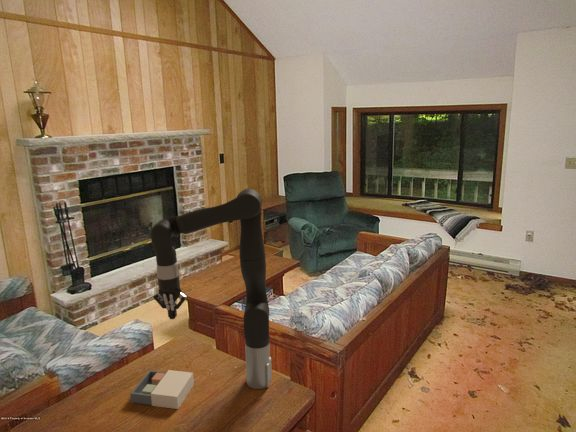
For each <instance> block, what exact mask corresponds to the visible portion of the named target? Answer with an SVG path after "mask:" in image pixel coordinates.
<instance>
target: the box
mask: <svg viewBox="0 0 576 432" xmlns="http://www.w3.org/2000/svg"><path fill="white" fill-rule="evenodd" d="M167 372H168V371H161V370H152V369H149V371H147V373H146V374H145V375H144V376H143V378H142V379H140V381H139V382H138V383H137V385H136V386H135V387H134V388H133V389H132V391H131V392H130V402H131V404H136V405H137V404H138V405H144V406H152V401H151V394H143V393H142V390H143V389H144V388H145V387H146V385H147V384H151V385H152V378H153V377H154V375H155V374H156V373H165V374H166V373H167Z"/></svg>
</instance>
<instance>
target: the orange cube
mask: <svg viewBox="0 0 576 432" xmlns="http://www.w3.org/2000/svg"><path fill="white" fill-rule="evenodd" d="M164 375H165V373H156V374H155V375H154V377H153V378H152V385H156V386H157V385H158V383H159V382H160V381H161V379H162V378H163V377H164Z"/></svg>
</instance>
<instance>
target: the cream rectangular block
mask: <svg viewBox="0 0 576 432" xmlns="http://www.w3.org/2000/svg"><path fill="white" fill-rule="evenodd" d="M166 372H167V373H166V374H165V375H164V377H163V378H162V379H161V381H160V382H159V383H158V385H157V386H156V387H155V389H154V390H153V391H152V393H151V401H152V406H153V407H159V408H166V409H174V410H179V408H181V405H182V404H183V402H184V401H185V399H186V397H187V396H188V395H189V393H190V391H191V389H192V388H193V387H194V384H195V381H194V379H195V378H194V372H189V371H180V370H172V369H168V370H167V371H166Z"/></svg>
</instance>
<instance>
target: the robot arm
mask: <svg viewBox="0 0 576 432" xmlns="http://www.w3.org/2000/svg"><path fill="white" fill-rule="evenodd" d="M262 205H263V200H262V196H261V195H260V193H259V192H257V190H256V189H253V188H245V189H243V190H241V191H240V192H239V193H238V194H237V196H236V197H235V198H233V199H231V200H229V201H227V202H224V203H222V204H219V205H216V206H211V207H205V208H204V207H203V208H199V209H196V210H192V211H189V212H185V213H183V214H181V215H176V216H171V217H170V216H169V217H166V218H163V219H161V220H159V221H158V222H156V224H154V225H153V226H152V228H151V229H150V240H151V244H152V247H153V250H154V251H155V259H156V261H155V262H156V277H157V283H158V291H157V292H156V293H155V294H154V295H153V299H154V300H155V302H156V303H157V304H158V305H159V306H160V307H161V308H162V309H165V310H166V311H167V317H168V318H169V320H175V319H176V317H177V316H178V312H177V310H179V308H180V307H181V306H182V305H183V304H184V302H185V301H186V299H187V298H188V294H187V293H186V294H184V293H183V292H182V289H181V282H180V281H181V280H180V273H179V272H180V270H179V265H178V257H177V251H176V248H175V247H174V246H173V242H172V238H173V237H176V236H177V235H181V234H182V235H188V234H193V233H196V232H198V231H201V230H205V229H207V228H209V227H210V228H211V227H213V226H216V225H220V224H224V223H229V222H234V221H235V222H236V221H240V238H239V264H240V272H241V276H242V279H243V282H244V286H245V298H246V299H245V307H244V312H243V313H244V314H243V335H244V336H243V337H244V344H245V346H244V350H245V372H246V373H245V374H246V377H245V379H246V384H247V386H248V387H249V388H250V389H254V390H261V389H265V388H269V387H270V384H271V382H272V375H273V374H272V371H273V370H272V357H271V351H270V344H271V343H270V306H269V305H270V304H269V302H268V296H267V289H266V280H267V279H266V277H267V262H266V259H267V258H266V251H265V241H264V235H263V232H262V231H263V230H262ZM178 299H179V301H178Z"/></svg>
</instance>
